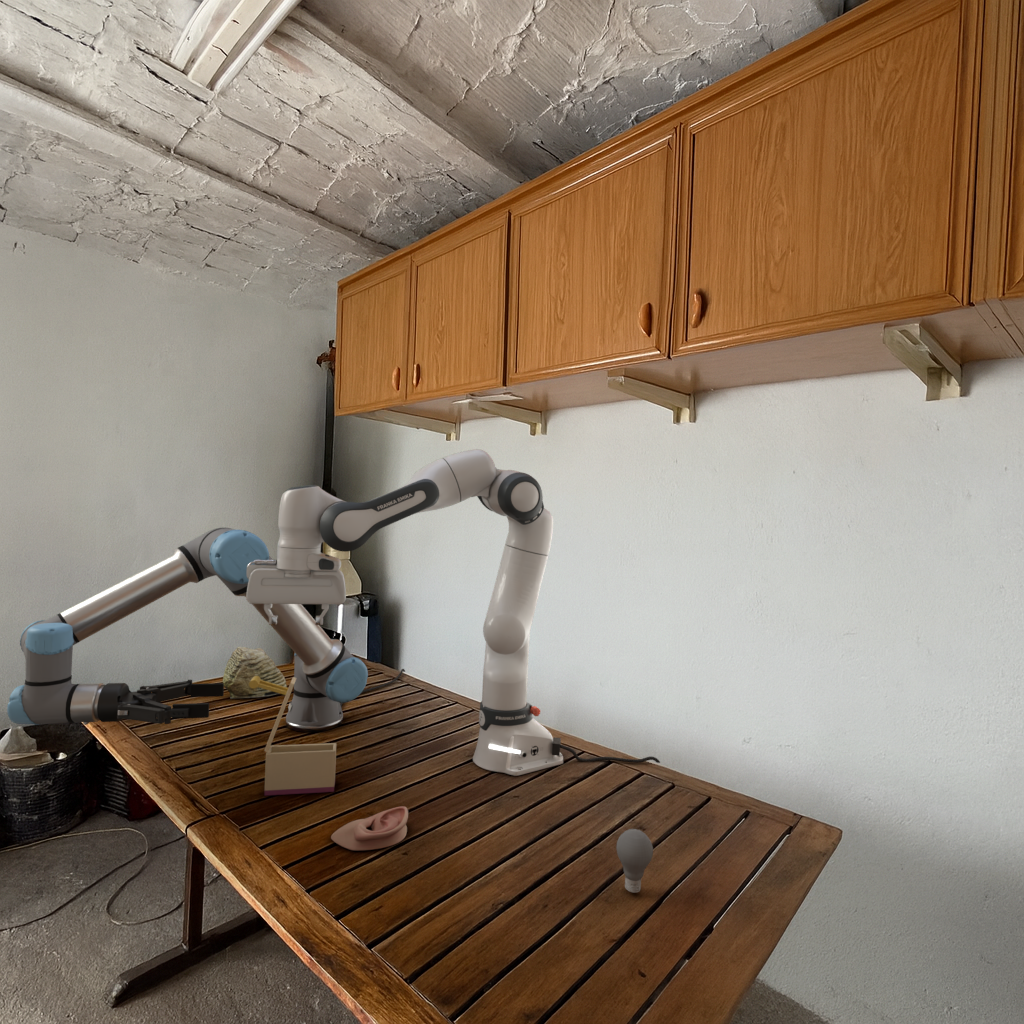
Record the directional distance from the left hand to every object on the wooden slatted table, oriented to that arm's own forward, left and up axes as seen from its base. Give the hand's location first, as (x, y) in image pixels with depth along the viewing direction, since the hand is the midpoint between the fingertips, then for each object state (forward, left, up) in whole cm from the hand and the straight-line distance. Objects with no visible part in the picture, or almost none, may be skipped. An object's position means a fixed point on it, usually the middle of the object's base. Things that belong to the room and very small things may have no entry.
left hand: (216, 699), depth 133 cm
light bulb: (-31, +82, -20) cm, 90 cm away
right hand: (-12, +9, +16) cm, 22 cm away
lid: (-10, +8, -4) cm, 14 cm away
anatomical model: (-12, +37, -20) cm, 44 cm away
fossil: (-40, -55, -20) cm, 70 cm away
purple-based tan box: (-14, +11, -20) cm, 27 cm away
